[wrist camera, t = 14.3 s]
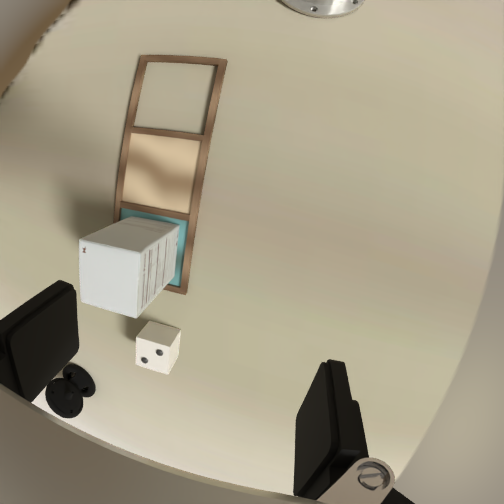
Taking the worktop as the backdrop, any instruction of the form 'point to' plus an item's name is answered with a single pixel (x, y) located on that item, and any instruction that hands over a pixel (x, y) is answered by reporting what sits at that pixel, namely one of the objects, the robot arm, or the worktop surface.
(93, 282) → the supplement box
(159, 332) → the die
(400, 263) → the worktop surface
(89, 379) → the webcam
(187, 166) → the board
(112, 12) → the worktop surface
